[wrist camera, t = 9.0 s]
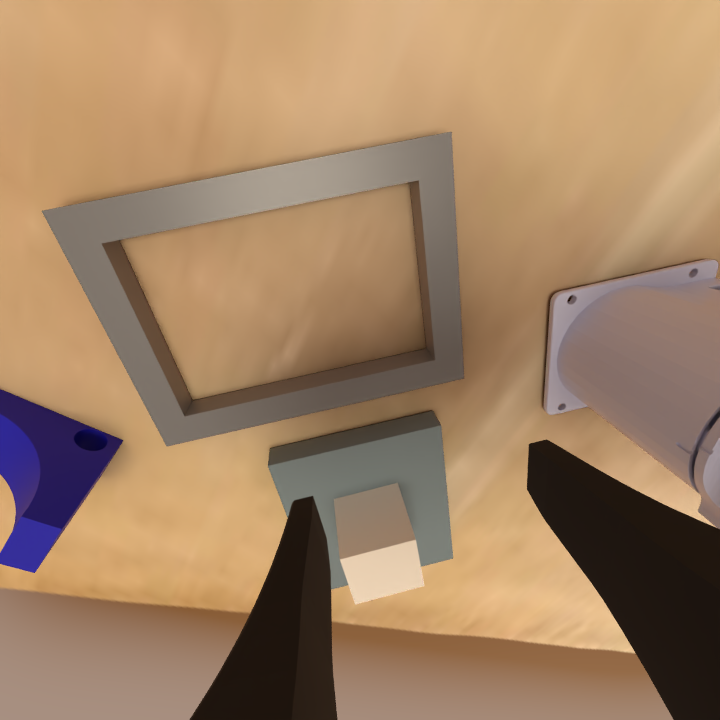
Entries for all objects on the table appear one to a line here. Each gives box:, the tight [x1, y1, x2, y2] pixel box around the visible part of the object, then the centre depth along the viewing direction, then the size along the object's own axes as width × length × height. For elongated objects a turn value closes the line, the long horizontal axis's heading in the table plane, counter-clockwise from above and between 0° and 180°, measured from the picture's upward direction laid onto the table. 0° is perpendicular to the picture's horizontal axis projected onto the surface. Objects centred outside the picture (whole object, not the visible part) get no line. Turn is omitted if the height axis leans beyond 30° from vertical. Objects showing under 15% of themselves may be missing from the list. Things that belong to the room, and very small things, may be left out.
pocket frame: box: [42, 132, 464, 446], centre depth 18 cm, size 16×12×2 cm
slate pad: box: [268, 411, 453, 589], centre depth 24 cm, size 10×12×2 cm
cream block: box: [334, 483, 424, 604], centre depth 21 cm, size 4×4×4 cm
